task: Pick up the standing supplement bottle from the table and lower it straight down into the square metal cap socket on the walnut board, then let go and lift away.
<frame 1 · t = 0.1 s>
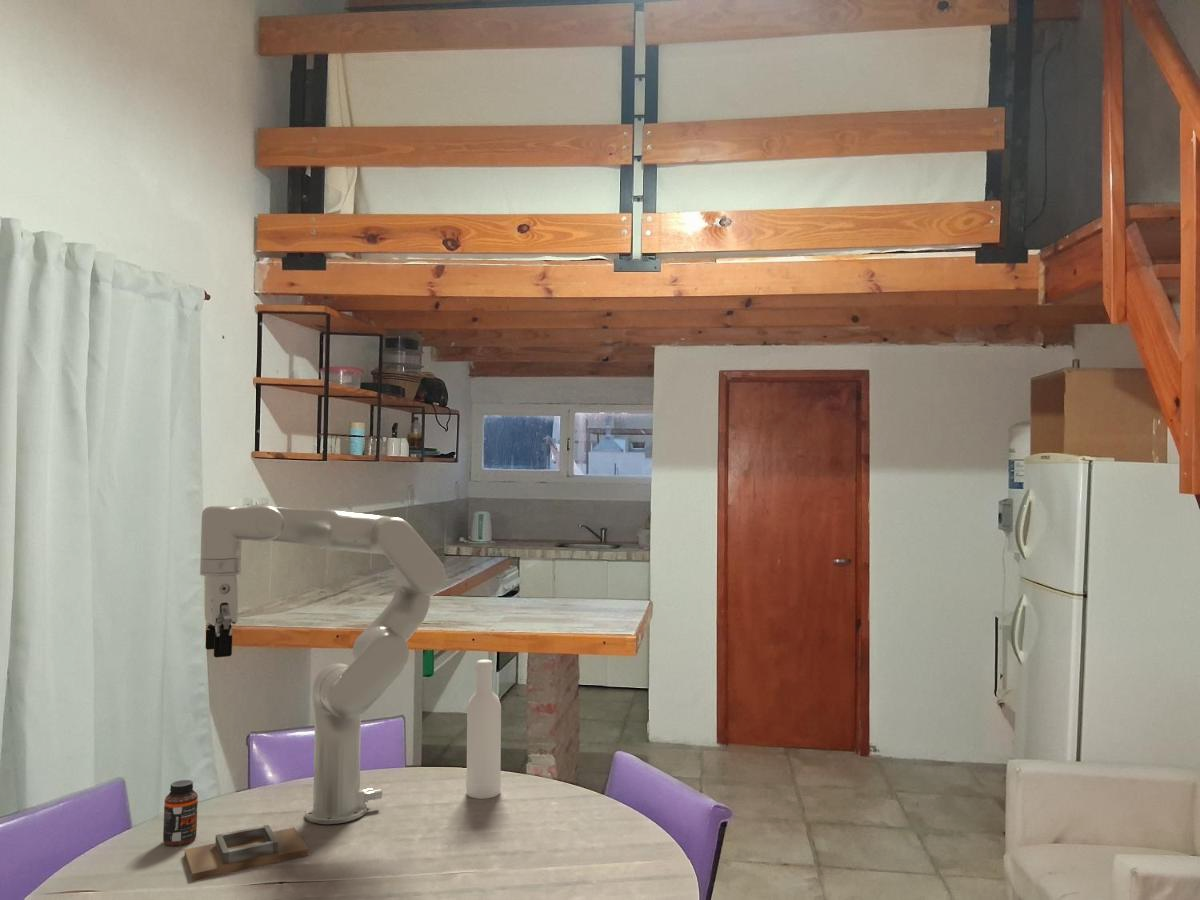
hand: (218, 652, 170), 37 cm above the table, tool pointing down, fingers open, 9 cm apart
supplement bottle: (179, 842, 167), on the table
cap board: (246, 855, 161), on the table
bottle: (483, 793, 194), on the table
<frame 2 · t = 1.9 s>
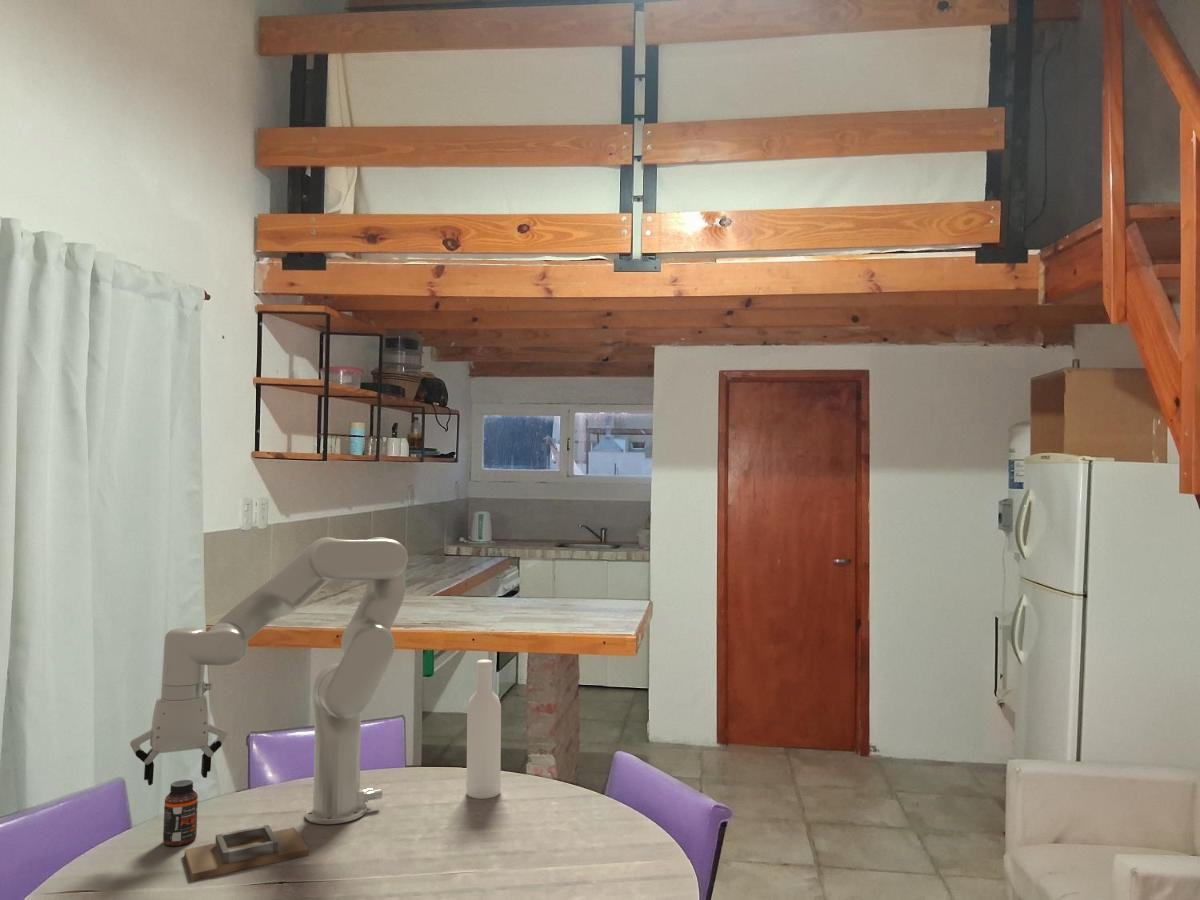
hand: (177, 779, 168), 12 cm above the table, tool pointing down, fingers open, 9 cm apart
nothing on the table moved.
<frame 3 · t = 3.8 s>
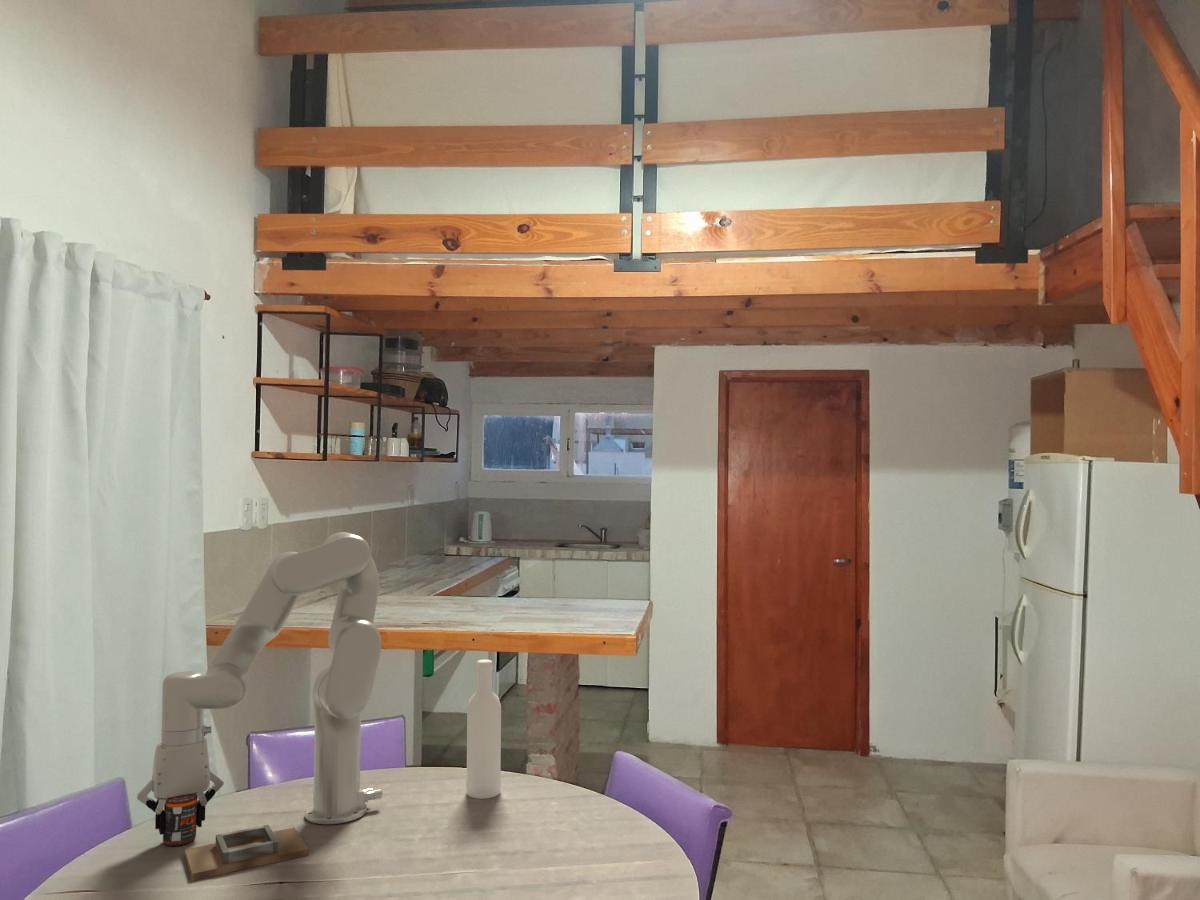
hand: (180, 827, 167), 3 cm above the table, tool pointing down, fingers closed on supplement bottle, 6 cm apart
supplement bottle: (179, 842, 167), on the table, touching gripper
everything else where it was.
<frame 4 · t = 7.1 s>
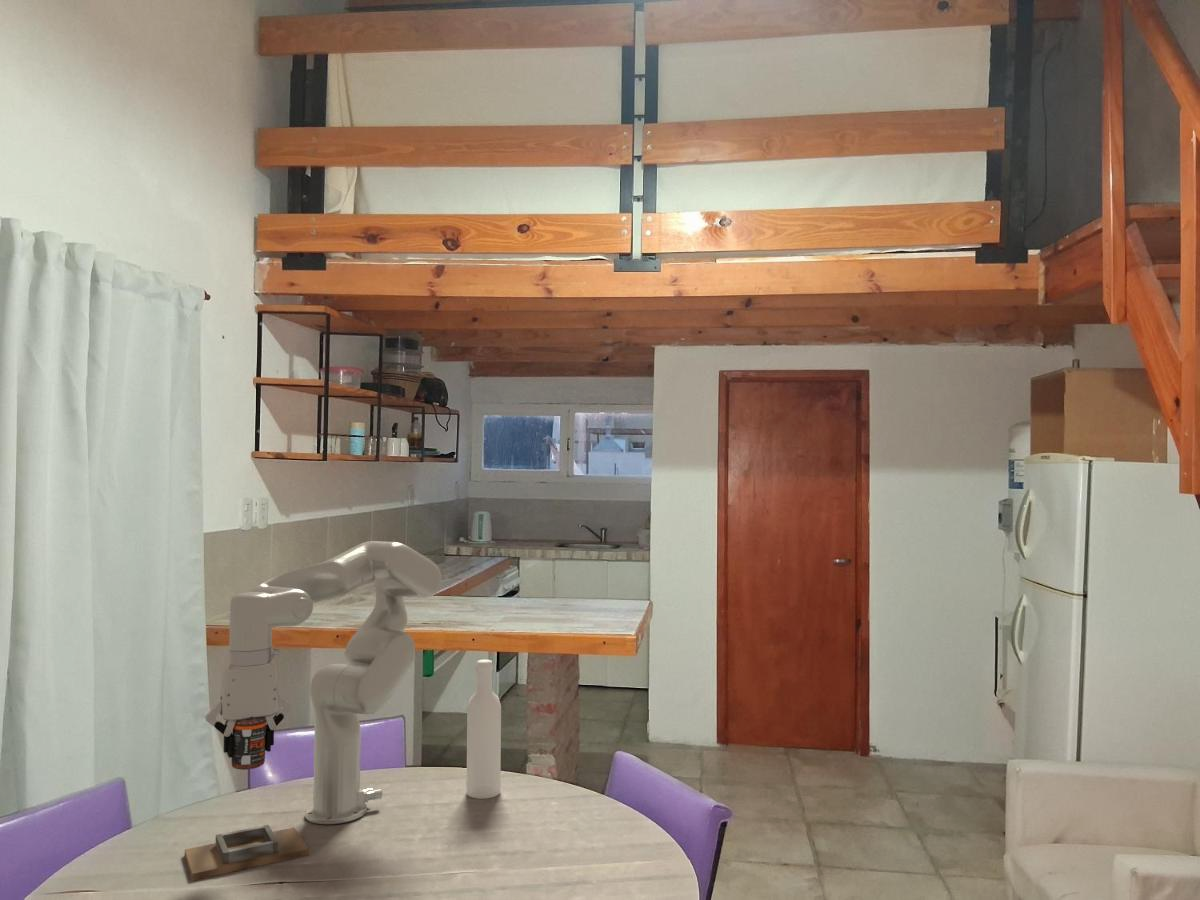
hand: (248, 751, 162), 19 cm above the table, tool pointing down, fingers closed on supplement bottle, 6 cm apart
supplement bottle: (248, 766, 162), point 17 cm above the table, touching gripper
everything else where it was.
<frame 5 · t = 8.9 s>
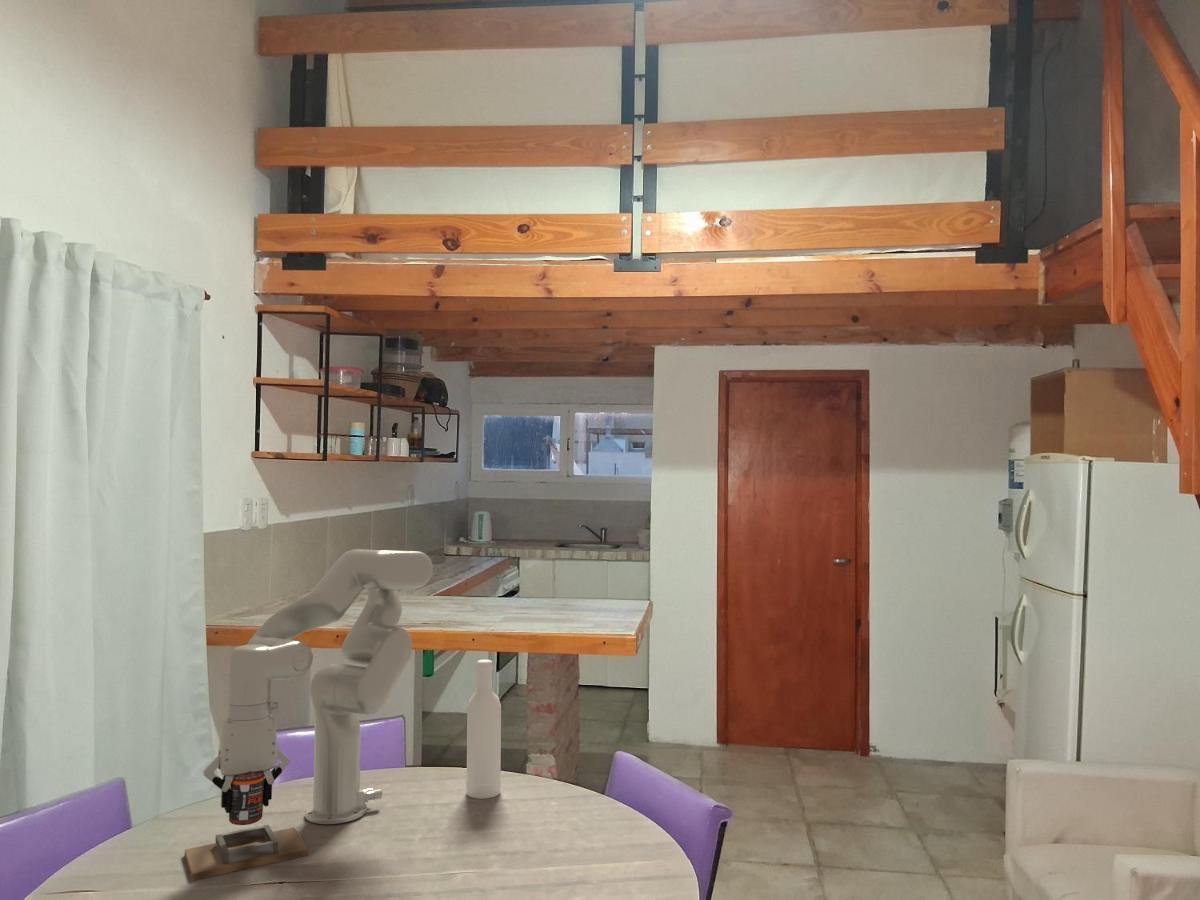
hand: (246, 806, 161), 9 cm above the table, tool pointing down, fingers closed on supplement bottle, 6 cm apart
supplement bottle: (245, 821, 161), point 6 cm above the table, touching gripper
everything else where it was.
when the fingers open (5 cm above the table, at t = 10.7 s): supplement bottle drops 1 cm, resting on cap board.
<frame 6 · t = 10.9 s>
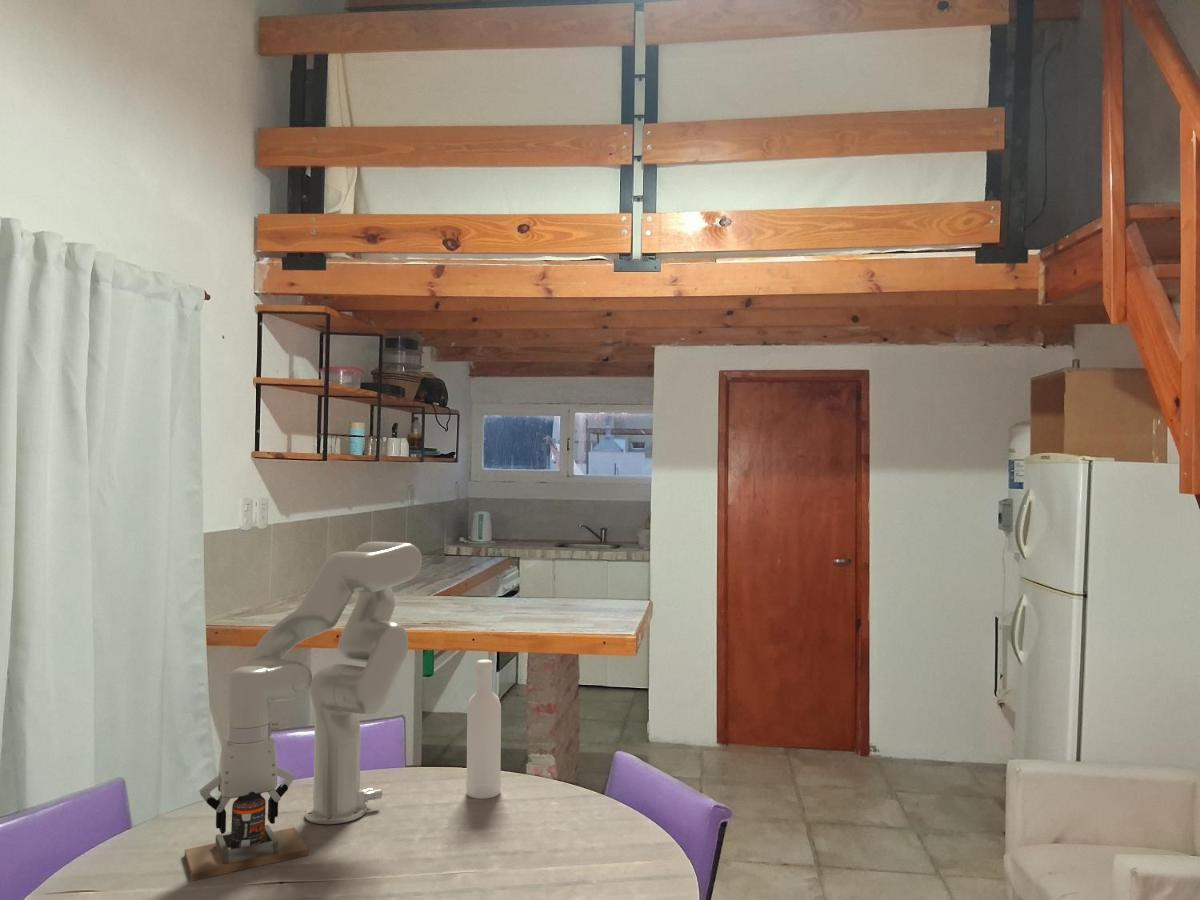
hand: (247, 825, 161), 6 cm above the table, tool pointing down, fingers open, 8 cm apart
supplement bottle: (247, 849, 161), point 1 cm above the table, touching cap board
everything else where it was.
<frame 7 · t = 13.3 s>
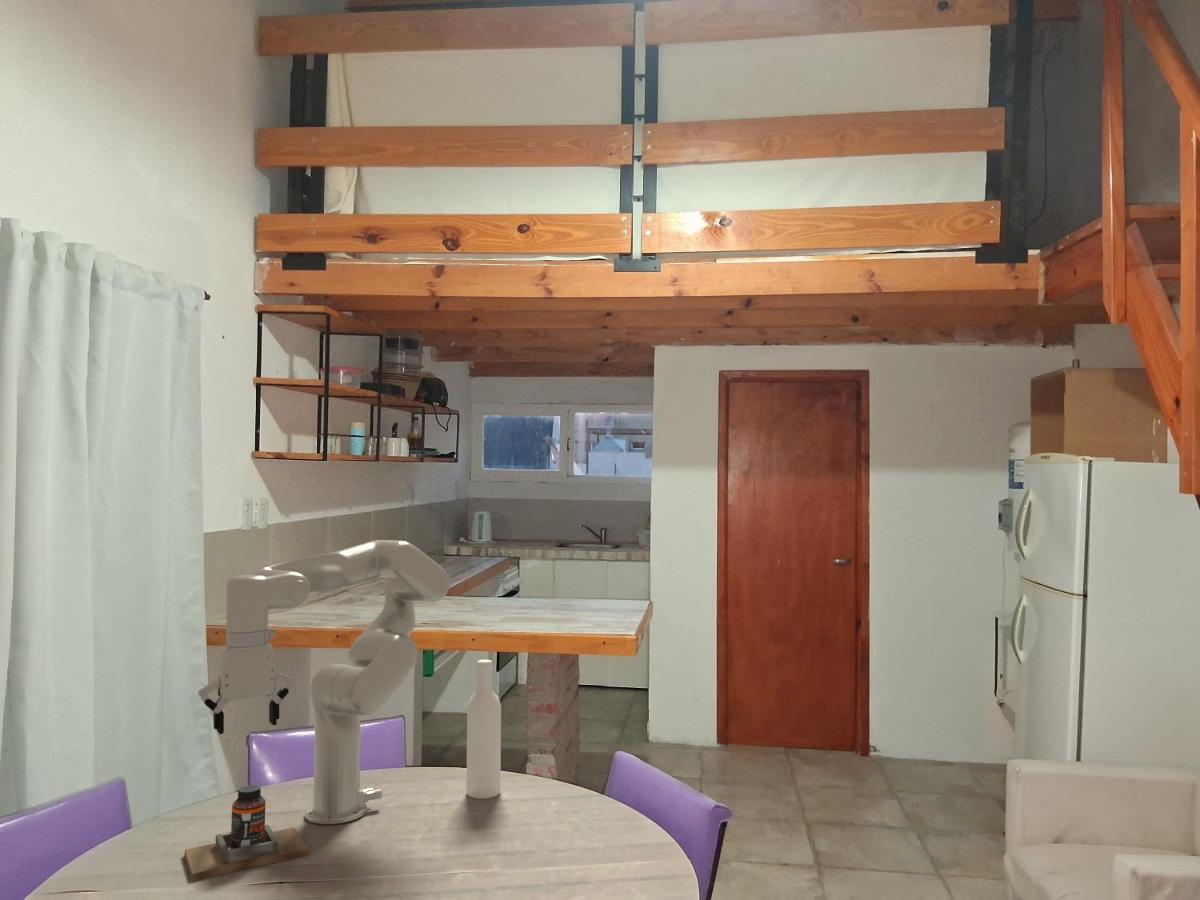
hand: (246, 727, 164), 23 cm above the table, tool pointing down, fingers open, 9 cm apart
nothing on the table moved.
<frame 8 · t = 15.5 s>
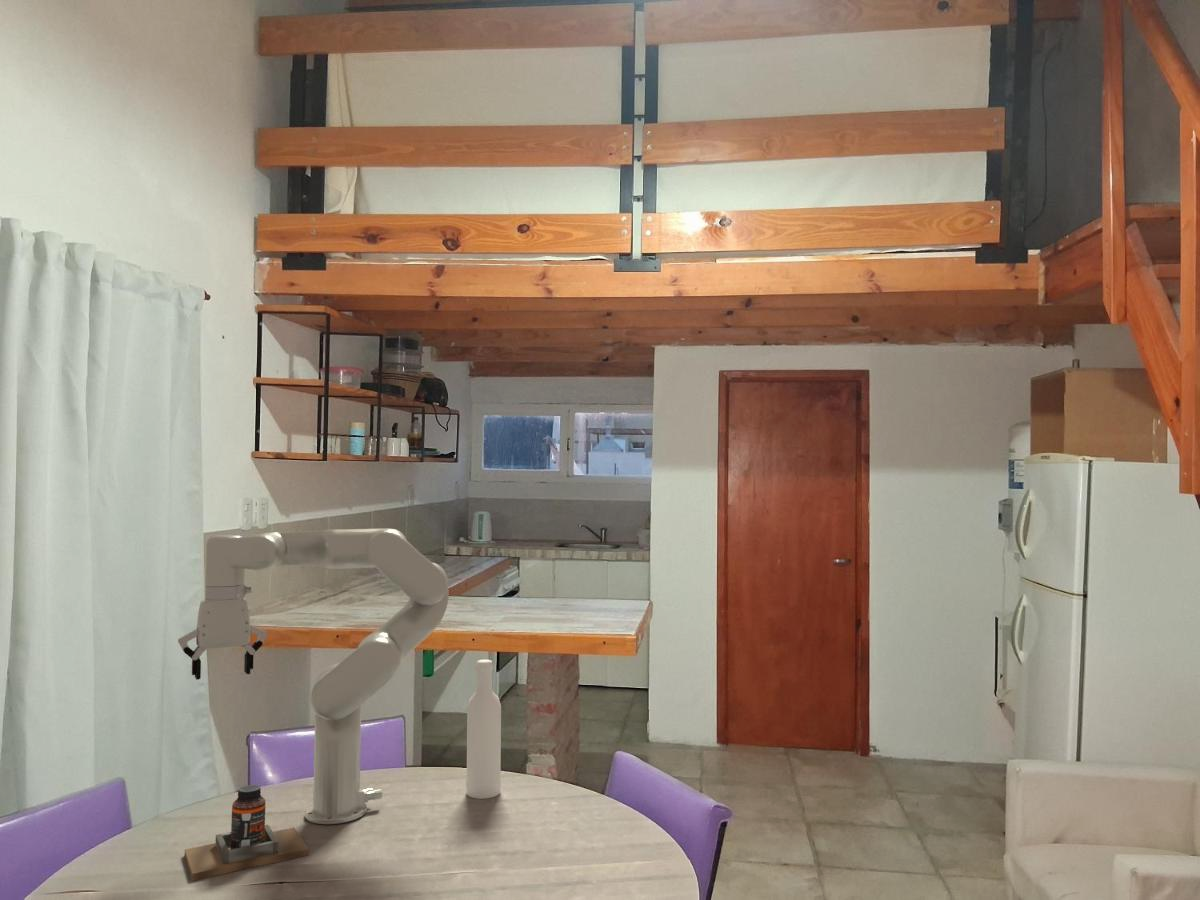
hand: (222, 675, 178), 30 cm above the table, tool pointing down, fingers open, 9 cm apart
nothing on the table moved.
at the end: supplement bottle 0.2 cm off-centre on the cap board, point 1.0 cm above the cap board's base; supplement bottle tilted 0°; the gripper is holding nothing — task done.
